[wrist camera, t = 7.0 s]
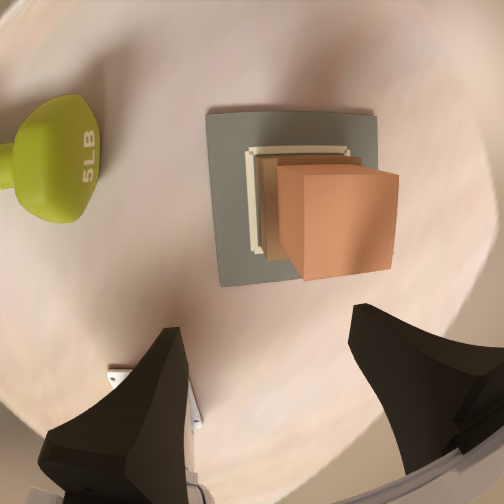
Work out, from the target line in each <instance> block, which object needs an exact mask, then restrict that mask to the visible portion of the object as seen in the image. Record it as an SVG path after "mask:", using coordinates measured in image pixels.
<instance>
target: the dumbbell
mask: <svg viewBox="0 0 504 504" xmlns="http://www.w3.org/2000/svg"><path fill="white" fill-rule="evenodd" d="M99 161H100V131H99V126H98V123H97V121H96V119H95V117H94V115H93V113H92V111H91V110H90V108H89V106H88V104H87V103H86V101H85V100H84V99H83V98H82V97H80V96H79V95H76V94H70V95H64V96H58V97H55V98H52V99H50V100H48V101H46V102H45V103H43V104H42V105H41V106H39V107H38V108H37V109H36V110H35V111H33V112H32V113H31V114H30V115H29V116H28V117H27V118H26V120H25V121H24V122H23V123H22V124H21V126H20V127H19V129H18V131H17V134H16V137H15V140H14V143H6V144H0V189H7V188H12V187H14V189H15V193H16V196H17V198H18V201H19V203H20V204H21V205H22V206H23V207H24V208H25V209H26V210H27V211H29V212H30V213H32V214H33V215H35V216H37V217H39V218H41V219H43V220H46V221H49V222H54V223H70V222H74V221H76V220H77V219H78V218H79V217H80V216H81V215H82V213H83V212H84V210H85V208H86V206H87V204H88V202H89V200H90V198H91V195H92V193H93V191H94V189H95V187H96V184H97V181H98V175H99Z"/></svg>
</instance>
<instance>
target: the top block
mask: <svg viewBox="0 0 504 504" xmlns="http://www.w3.org/2000/svg"><path fill="white" fill-rule="evenodd" d="M277 186H278V213H279V243H280V245H281V246H282V248H283V249H284V251H285V252H286V254H287V256H288V257H289V259H290V260H291V262H292V263H293V265H294V266H295V268H296V270H297V271H298V273H299V274H300V276H301V277H302V279H303V281H308V280H316V279H324V278H331V277H339V276H346V275H353V274H360V273H367V272H373V271H380V270H386V269H391V264H392V256H393V248H394V239H395V229H396V218H397V204H398V186H399V175H396V174H392V173H388V172H384V171H380V170H375V169H371V168H366V167H361V166H356V165H351V164H317V165H283V166H277Z"/></svg>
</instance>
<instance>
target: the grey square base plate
mask: <svg viewBox="0 0 504 504" xmlns="http://www.w3.org/2000/svg"><path fill="white" fill-rule="evenodd" d="M205 116H206V132H207V147H208V160H209V173H210V185H211V197H212V208H213V219H214V229H215V239H216V249H217V259H218V268H219V277H220V286H221V287H229V286H239V285H248V284H258V283H267V282H276V281H284V280H293V279H301V278H302V277H301V276H300V274H299V273H298V271H297V270H296V268H295V266H294V265H293V263H292V262H291V260H290V259H284V260H275V261H267V259H266V257H265V255H264V252H263V250H262V248H261V246H260V237H259V217H258V197H257V178H256V159H255V157H260V156H284V155H345V156H352V157H359V158H362V167H366V168H371V169H375V170H378V143H377V116H368V115H358V114H346V113H331V112H308V111H259V112H236V113H221V114H208V115H205Z"/></svg>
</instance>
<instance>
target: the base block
mask: <svg viewBox="0 0 504 504" xmlns="http://www.w3.org/2000/svg"><path fill="white" fill-rule="evenodd" d="M255 159H256V178H257V197H258V217H259V237H260V246H261V248H262V250H263V252H264V255H265V257H266V259H267V261H275V260H284V259H289V257H288V256H287V254H286V252H285V251H284V249H283V248H282V246H281V245H280V243H279V213H278V186H277V166H283V165H317V164H351V165H356V166H361V167H362V158H359V157H352V156H345V155H284V156H260V157H255Z"/></svg>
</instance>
